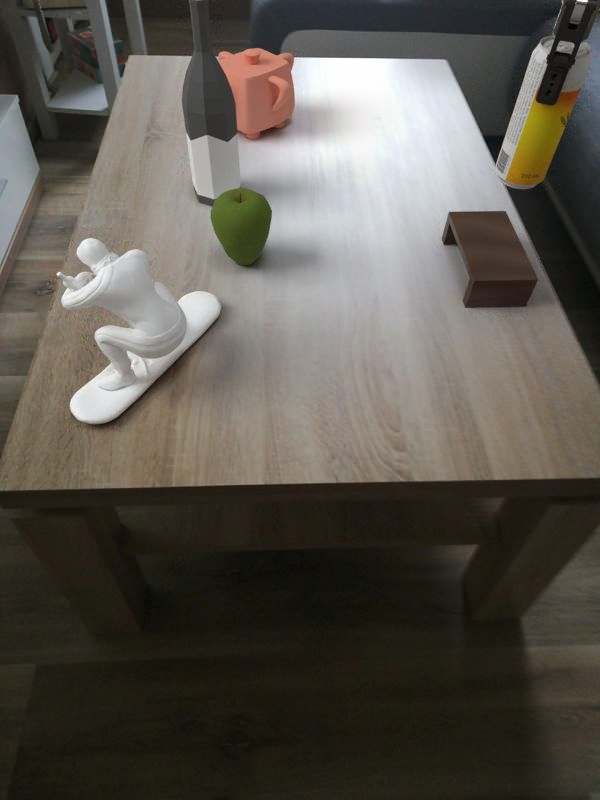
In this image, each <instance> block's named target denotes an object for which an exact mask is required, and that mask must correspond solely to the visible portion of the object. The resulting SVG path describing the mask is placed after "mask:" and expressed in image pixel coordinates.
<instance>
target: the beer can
mask: <svg viewBox="0 0 600 800" xmlns="http://www.w3.org/2000/svg"><path fill="white" fill-rule="evenodd" d="M554 39H555V38H554V37H553V35H548V36H544V37H543V38H541V39H540V41H539V43H538V44H537V46H536V47H535V48H534V49H533V50H532V52H531V56H530V59H529V61H528V64H527V68H526V71H525V74H524V77H523V79H522V83H521V86H520V90H519V93H518V95H517V99H516V102H515V105H514V108H513V111H512V114H511V117H510V120H509V123H508V126H507V129H506V132H505V135H504V138H503V141H502V144H501V147H500V150H499V153H498V157H497V160H496V163H495V165H494V171H495V173H496V176H497V179H498V180H499V181H500V182H501V183H502V184H503V185H505V186H507V187H508V188H509V187H510V188H512V189H515V190H516V189H517V190H530V189H532V188H534V187H536V186H537V185H538V184H541V183H542V182H543V181H544V180H545V178H546V175H547V173H548V170H549V168H550V165H551V163H552V160H553V158H554V155H555V154H556V151H557V148H558V146H559V143H560V141H561V138H562V136H563V133H564V131H565V128H566V126H567V124H568V121H569V120H570V116H571V114H572V112H573V109H574V107H575V104H576V102H577V99H578V97H579V94H580V92H581V90H582V87H583V85H584V82H585V80H586V77H587V75H588V72H589V70H590V68H591V65H592V52H593V47H592V46H591V44H589V43H588V42H587V41H586V42H584V43H582V44H580V47H579V49H578V52H577V54H576V57H575V59H576V61H575V64H574V65H572V67H571V69H569V72H568V74H567V77H566V79H565V82H564V85H563V87H562V90H561V92H560V95H559V98H558V100H557V103H556V104H555V105H553V106H550V105H546V104H541V103H538V102H537V101H536V96H537V93H538V90H539V87H540V84H541V81H542V79H543V76H544V73H545V70H546V67H547V64H546V62H547V60H546V58H547V55H548V54H549V53H550V51H551V48H552V45H553V42H554ZM573 48H574V44H573V43H570V42H565V41H560V42H559V45H558V47H557V50H556V51H560V52H565V53H570V54H572V51H573Z"/></svg>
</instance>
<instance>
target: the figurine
mask: <svg viewBox="0 0 600 800" xmlns="http://www.w3.org/2000/svg"><path fill="white" fill-rule="evenodd" d="M76 256H77V258H78V259H79V260H80V261H81V262H82V264H84V265H86V266H87V267H89V269H90V271H81V272H79V273H78V274H77V275H76V276H75V277H73V276H72V275H65V274H64V273H62V272H61V271H57V272H56V276H57V277H58V278H59V279H61V280H62V285H63V286H64V287H66V290H65V291H64V293H63V294H62V296H61V305H62V308H64V309H65V310H67V311H74V310H85V309H88V308H92V307H96V306H98V307H101V308H102V309H105V310H107V311H109V312H110V313H113V314H115V315H116V316H118V317H119V318H121V319H122V320H124V321H126V322H127V323H128V325H130V326H131V327H123V326H118V325H112V324H107V325H103V326H101V327H99V328H98V329H96V331H95V333H94V340H95V343H96V344H97V346H98V347H99V349H100V350H101V352H102V353H103V354H104V355H105V356H106V357H107V359H108V360H109V362H110V363H109V364H108V365H107V366H106V367H105V368H104V369H103V370H102V371H101V372H100V373H98V374H97V375H95V376H94V377H93V378H92V379H91V380H90V381H88V382H87V383H86V384H85V385H83V386H82V387H81V388H80V389H78V390H77V391H76V392H75V393H74V394H73V395H72V397H71V399H70V402H69V409H70V412H71V413H72V415H73V417H75V418H76V420H77V421H79V422H81V423H85V424H89V425H101V424H106V423H109V422H111V421H113V420H115V419H117V418H118V417H119V416H120V415H122V413H124V412H125V411H126V410H127V409H128V408H129V407H130V406H131V405H132V404H133V403H135V402H136V401H137V400H138V399H139V398H140V397H141V396H142V395H143V394H144V393H145V392H146V391H147V390H148V389H149V388H150V387H151V386H152V385H153V384H154V383H155V381H157V380H158V378H160V377H161V376H162V375H163V374H164V373H165V372H166V371H167V370H168V369H169V368H170V367H171V366H172V365H173V364H174V363H175V362H176V361H177V360H178V359H179V358H180V357H181V356H182V355H183V354H184V353H185V352H186V351H187V350H188V349H189V348H190V347H191V346H192V345H193V344H195V342H196V341H197V340H198V339H199V338H200V337H202V335H203V334H204V333H205V332H206V331H207V330H208V329H209V328H210V327H211V326H212V325H213V323H214V322H215V321H216V320H217V319H218V317H220V314H221V310H222V308H221V307H222V306H221V302H220V300H219V299H218V297H217V296H215V294H213V293H211V292H208V291H204V290H197V291H191V292H188V293H187V294H185V295H183V296H181V297H180V299H179V300H178V301H177V300H176V298H175V297H174V296H173V294H172V293H171V292H170V290H169V289H168V288H167V287H166V285H165V284H164V283H163V282H160V281H154V272H153V267H152V259H151V257H150V256H149V254H147V253H146V252H145V251H143V250H141V249H137V248H133V249H130V250H128V251H126V252H125V253H124V254H122V255H121V256H119V255H118V254H117V253H115V252H113V251H109V250H108V248H107V246H106V245H105V243H103V241H101V240H99V239H96V238H94V237H93V238H92V237H89V238H86V239H83V240H82V241H81V242H80V243H79V245H78V247H77V248H76ZM93 275H94V276H95V277H93Z"/></svg>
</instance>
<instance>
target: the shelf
mask: <svg viewBox="0 0 600 800" xmlns="http://www.w3.org/2000/svg"><path fill="white" fill-rule="evenodd" d="M520 240H521V239H520V238H519V236H518V233H517V232H516V230H515V228H514V225H513V223H512V221H511V219H510V217H509V215H508V212H507V211H506V210H477V211H475V210H474V211H471V210H470V211H468V210H467V211H464V210H463V211H448V213H447V218H446V221H445V225H444V228H443V231H442V236H441V241H442V245H445V246H446V245H451V246H452V245H456V246H457V247H458V250H459V253H460V255H461V258H462V261H463V264H464V266H465V269H466V272H467V275H468V277H469V281H468V284H467V286H466V288H465V292H464V295H463V298H462V302H463V305H464V308H505V307H507V308H508V307H509V308H510V307H527V305H528V303H529V301H530V298H531V297H532V294H533V293H534V290H535V288H536V286H537V284H538V281H539V278H538V276H537V273H536V271H535V269H534V267H533V265H532V263H531V261H530V259H529V257H528V255H527V253H526V250H525V248H524V246H523V244H522V241H520Z"/></svg>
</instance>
